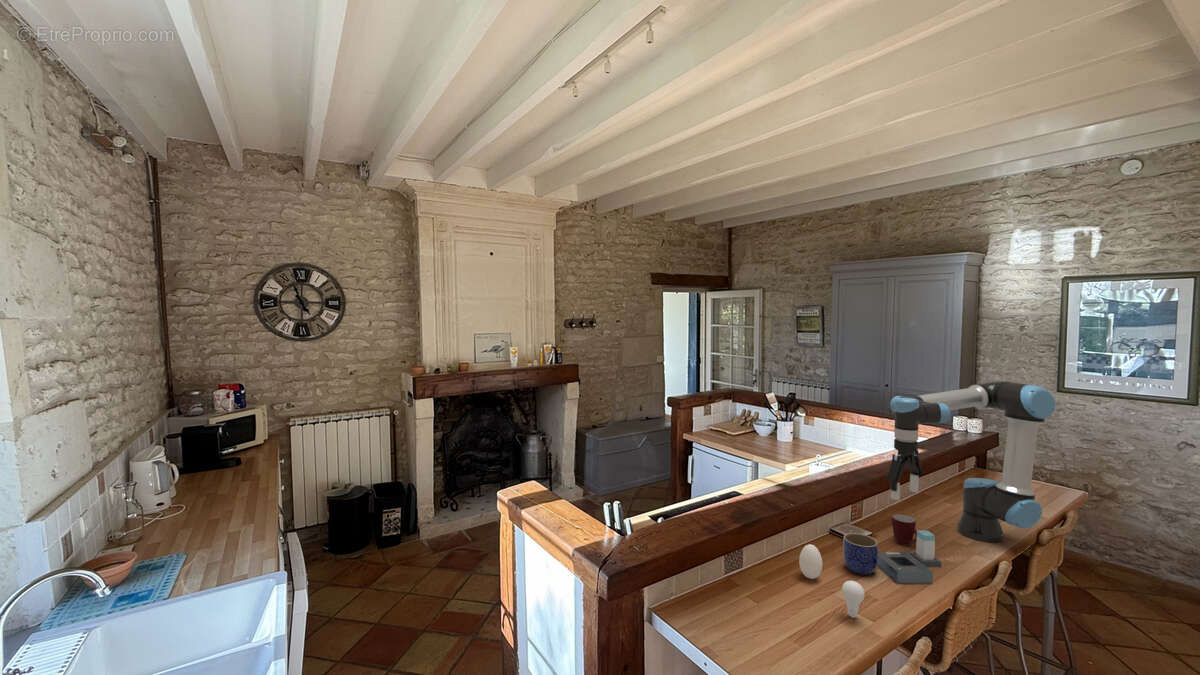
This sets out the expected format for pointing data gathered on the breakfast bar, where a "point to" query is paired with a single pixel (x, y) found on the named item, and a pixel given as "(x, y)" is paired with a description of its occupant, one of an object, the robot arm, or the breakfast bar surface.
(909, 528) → the mug
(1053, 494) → the breakfast bar surface
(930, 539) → the plug
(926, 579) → the panel
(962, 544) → the breakfast bar surface
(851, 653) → the breakfast bar surface
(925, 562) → the holster
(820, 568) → the egg
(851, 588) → the lightbulb
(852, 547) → the planter
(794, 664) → the breakfast bar surface
